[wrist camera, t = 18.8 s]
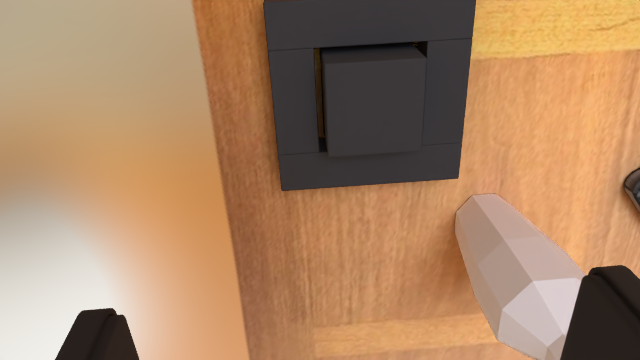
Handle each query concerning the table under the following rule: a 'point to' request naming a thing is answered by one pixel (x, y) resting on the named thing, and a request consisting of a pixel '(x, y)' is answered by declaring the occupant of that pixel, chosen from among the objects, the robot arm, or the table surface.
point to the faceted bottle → (517, 276)
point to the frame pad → (366, 29)
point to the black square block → (372, 98)
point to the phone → (634, 188)
